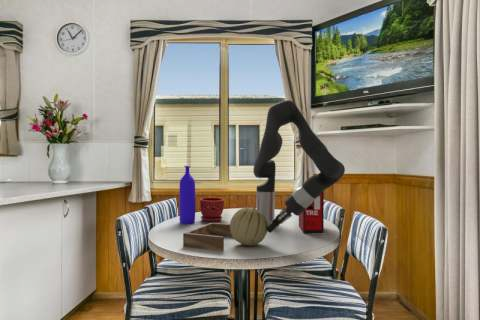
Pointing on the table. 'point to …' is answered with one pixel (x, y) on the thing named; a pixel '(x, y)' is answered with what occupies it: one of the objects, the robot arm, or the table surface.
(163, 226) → the table surface
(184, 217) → the bottle
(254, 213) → the cantaloupe
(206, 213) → the plant pot
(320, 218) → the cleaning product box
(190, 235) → the wooden serving tray
